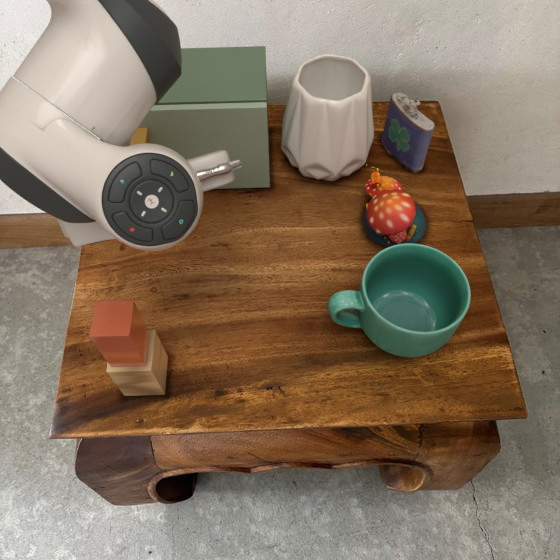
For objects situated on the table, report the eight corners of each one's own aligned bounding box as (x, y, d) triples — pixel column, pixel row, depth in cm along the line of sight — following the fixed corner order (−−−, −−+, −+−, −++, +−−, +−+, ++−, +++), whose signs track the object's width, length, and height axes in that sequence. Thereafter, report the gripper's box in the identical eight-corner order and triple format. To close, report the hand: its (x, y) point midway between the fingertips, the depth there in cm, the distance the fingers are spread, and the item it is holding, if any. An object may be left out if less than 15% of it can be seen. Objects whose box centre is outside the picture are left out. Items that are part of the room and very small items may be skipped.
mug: (441, 280, 75) (459, 240, 67) (459, 365, 69) (482, 332, 61) (320, 284, 75) (324, 245, 67) (328, 370, 69) (333, 338, 61)
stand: (124, 396, 67) (105, 371, 60) (129, 358, 70) (111, 330, 63) (165, 394, 67) (151, 370, 61) (168, 357, 70) (155, 329, 63)
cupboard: (269, 182, 85) (266, 99, 71) (140, 185, 85) (112, 103, 71) (268, 131, 91) (265, 45, 77) (147, 134, 90) (122, 49, 77)
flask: (425, 169, 86) (441, 116, 77) (410, 176, 85) (425, 124, 76) (390, 133, 90) (401, 78, 81) (375, 139, 89) (385, 85, 80)
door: (270, 218, 81) (267, 140, 68) (135, 222, 81) (105, 145, 67) (269, 182, 85) (266, 101, 71) (140, 186, 85) (112, 106, 71)
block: (111, 367, 61) (88, 336, 54) (115, 334, 63) (94, 301, 56) (147, 366, 61) (129, 335, 54) (150, 333, 63) (133, 299, 56)
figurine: (429, 256, 77) (444, 220, 70) (362, 255, 78) (370, 218, 70) (421, 191, 84) (433, 151, 76) (359, 189, 84) (366, 150, 77)
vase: (376, 132, 90) (391, 52, 77) (361, 197, 83) (375, 120, 70) (293, 118, 92) (293, 37, 79) (271, 180, 85) (268, 103, 72)
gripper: (236, 132, 56) (217, 138, 69) (33, 190, 52) (54, 185, 65) (253, 192, 58) (231, 187, 71) (58, 252, 54) (73, 235, 67)
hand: (145, 187), depth 68 cm, fingers open, 8 cm apart
